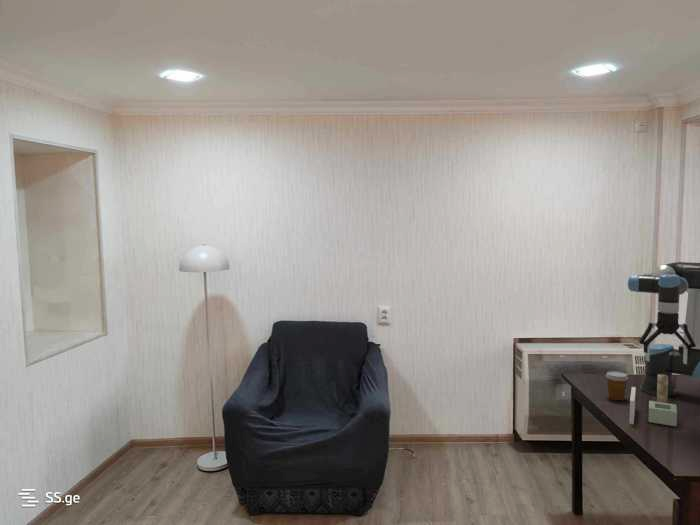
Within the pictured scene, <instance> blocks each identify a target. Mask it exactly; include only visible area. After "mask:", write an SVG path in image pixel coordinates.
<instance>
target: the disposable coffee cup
mask: <svg viewBox="0 0 700 525" xmlns="http://www.w3.org/2000/svg"><path fill="white" fill-rule="evenodd" d="M605 377H606V382H607V390H608V391H607V392H608V398H609V399H610V400H612V401H616V400H622V401H624V400H625V395H626V389H627V383H628V379H629V377H628V374H627V373H625V372H623V371H616V370H615V371H614V370H612V371H611V370H610V371H607V373H606V374H605Z"/></svg>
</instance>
